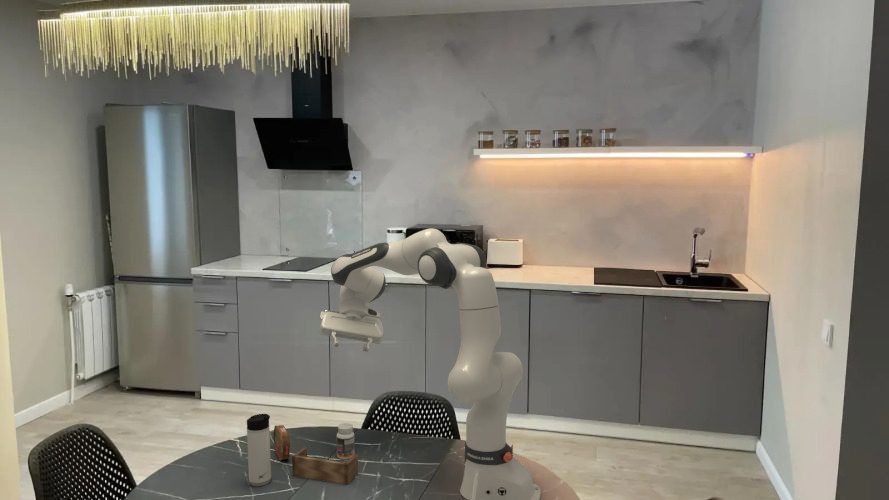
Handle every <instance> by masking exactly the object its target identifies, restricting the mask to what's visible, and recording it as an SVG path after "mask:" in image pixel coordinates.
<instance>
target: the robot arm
mask: <svg viewBox="0 0 889 500" xmlns="http://www.w3.org/2000/svg"><path fill="white" fill-rule="evenodd" d="M374 267H378V268H383V269H387V270H389V271H392V272H395V273H397V274H399V275H403V276H411V275H412V276H413V275H417V274H419V276H420V279H421V280H422V281H423V282H425V283H427V284H429V285H432V286H435V287H436V286H437V287H440V288H442V289H445V290H448V289H449V288H450V287H452V288H453V289H454V290H455V292H456V294H457V301H458V312H459V322H460V344H459V351H458V355H457V358H456V361H455V364H454V366H453V367H452V369H451V370H450V372H449V374H448V377H447V388H448V391H449V394H450V396H451V397H452V398H453V399H454V400H455V401H456V402H458V403H461V404H470V403H473V405H472V407H471V408H470V409H469V411H468V413H467V416H466V419H465V420H466V422H465V425H466V426H465V438H466V439H465V443H464V447H463V457H464V463H465V465H464V472H463V477H462V482H461V486H460V488H459V492H460V495H461V496H463V498H464V499H465V500H541V495H542V493H541V488H540V486H539V484H537V483H534V482H533V478H532V473H531V471H530V470H529V468H528V467H526V466H525V465H524V464H523V463H521V462H519V461H518V460H517V459H516V458H515V457H514V456H513V452H514V444H511V445H509V444H508V443H507V442H506V436H507V435H506V434H507V418H508V414H509V409H510V404H511V403H512V399H513V394H514V392H515V390H516V388H517V386H518V384H519V383H520V381H522V379H523V374H524V366H523V363H522V361H521V360H520V358H519V357H518V356H517V355H516V354H515V353H513V352H510V351H498V352H497V351H496V352H494V351H495V347H496V344H497V342H498V340H499V339H500V337H501V334H502V324H501V316H500V314H501V313H500V305H499V297H498V292H497V286H496V284H495V280H494V277H493V274H492V272H491V271H490V270H489V269H487V258H486V254H485V251H483V250H482V248H480V247H479V246H477V245H474V244H471V243H464V242H459V241H456V242H455V243H450V242H449V241H448V240H447V237H446V236H445V235H444V233H443V232H441V230H439V229H436V228H432V227H431V228H426V229H423V230H420V231H417V232H415V233H413V234H411V235H409V236H408V237H406V238H403V239H401V240H397V241H391V242H378V243H375V244H373V245H370V246H368V247H366V248H363V249H361V250H359V251H356V252H353V253H346V254H343V255H340V256H338V257H337V258H336V259H335V260H334V262H333V263H332V266H331V268H330V275H331V278H332V280H333V282H334V284H337V285H340V289H339V306H338V311H336V310H329V309H325V310H322V311H320V313H319V319H320V321H321V322H320V325H319V330H318V332H319V334H320V335H322V336H327V337H329V339H330V341H331V342H332V344H333V345H332V347H333V348H338V347H339V346H340V339H346V340H350V341H351V340H352V341H358V342H365V343H364V345H363V347H362V351H363V352H367V353H368V352H369V350H370V346H371V345H372V344H376V345H379V344H381V342H382V341H383V339H384V337H385V336H384V335H385V333H384V327H383V323H382V321H381V313H380V312H379V311H377V310H374V309H373V308H370V307H368V306H367V304H369V303H372V302H374V301H375V300H377V299H379V298H380V297H381V296H382V295H383V294H384V291H386V290H385V289H386V283H387V282H386V276H385V273H383V272H382V271H380V270H378V269H377V268H374Z"/></svg>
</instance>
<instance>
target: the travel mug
mask: <svg viewBox="0 0 889 500" xmlns="http://www.w3.org/2000/svg"><path fill="white" fill-rule="evenodd" d="M270 418H271V416H270V415H269V413H258V414H253V415H252V416H250V417H249V418H247V419H246V441H247V442H246V443H247V462H248V464H247V466H248V484H249V485H250V486H252V487H262V486H263V487H264V486H266V485H268V484H270V483H271V481H272V469H271V468H272V464H271V463H272V462H271V439H270V438H271V437H270V436H271V435H270V433H271V432H270Z"/></svg>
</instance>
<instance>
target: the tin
mask: <svg viewBox="0 0 889 500" xmlns="http://www.w3.org/2000/svg"><path fill="white" fill-rule="evenodd" d="M273 446H274V447H273V448H274V451H275V453H276V456H277V457H278V459H279V460H280V461H284V460H289V458H290V456H291V455H290V454H291V453H290V451H291V449H290V448H291V439H290V433H289V432H288V430H287V429H286V426H284V425H283V424H281V425H280V424H279V425H274V429H273Z"/></svg>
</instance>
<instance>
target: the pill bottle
mask: <svg viewBox="0 0 889 500" xmlns="http://www.w3.org/2000/svg"><path fill="white" fill-rule="evenodd" d="M337 431H338V432H336V437H335V438H336V456H337V458H338V459H341V460H349V459H350V458H351V457H352V456H353V455H354V454H356V453H355V452H356V451H355V446H356V445H355V444H356V443H355V433H354V427H353V424H352V423H347V422H346V423H340V424H338V425H337Z"/></svg>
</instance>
